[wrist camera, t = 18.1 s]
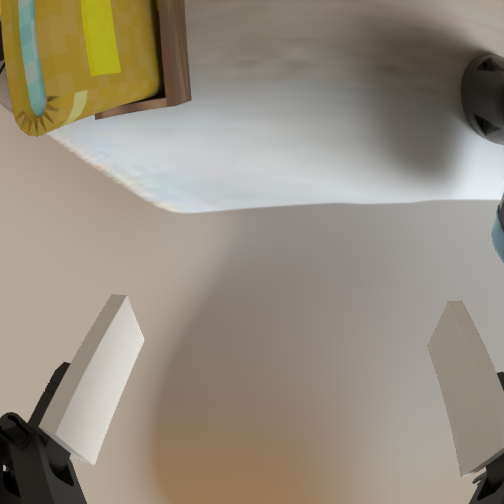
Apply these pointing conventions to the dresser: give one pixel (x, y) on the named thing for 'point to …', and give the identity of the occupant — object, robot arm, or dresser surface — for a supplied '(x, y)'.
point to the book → (79, 58)
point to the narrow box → (166, 63)
